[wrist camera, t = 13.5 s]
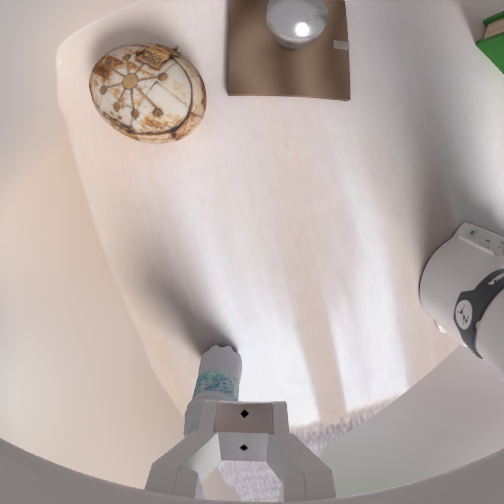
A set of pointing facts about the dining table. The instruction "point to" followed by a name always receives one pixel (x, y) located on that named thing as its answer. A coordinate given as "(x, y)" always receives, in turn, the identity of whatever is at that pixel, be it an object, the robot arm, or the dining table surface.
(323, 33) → the base
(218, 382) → the bottle
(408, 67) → the dining table surface
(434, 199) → the dining table surface
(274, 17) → the lever handle
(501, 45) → the hardback book
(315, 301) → the dining table surface
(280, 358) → the dining table surface
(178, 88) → the trinket box
